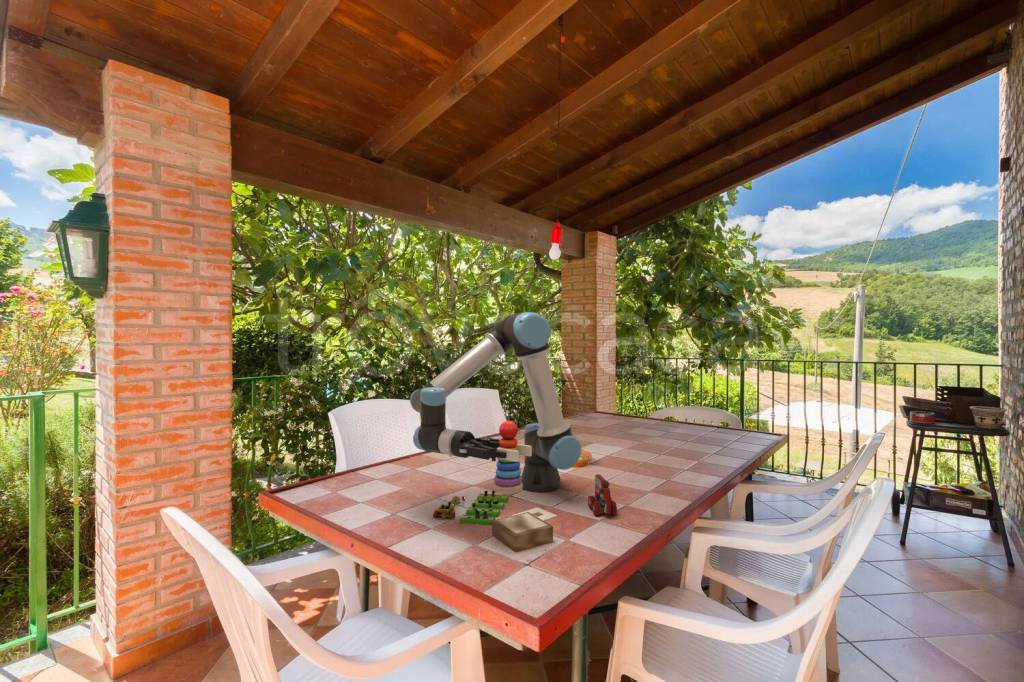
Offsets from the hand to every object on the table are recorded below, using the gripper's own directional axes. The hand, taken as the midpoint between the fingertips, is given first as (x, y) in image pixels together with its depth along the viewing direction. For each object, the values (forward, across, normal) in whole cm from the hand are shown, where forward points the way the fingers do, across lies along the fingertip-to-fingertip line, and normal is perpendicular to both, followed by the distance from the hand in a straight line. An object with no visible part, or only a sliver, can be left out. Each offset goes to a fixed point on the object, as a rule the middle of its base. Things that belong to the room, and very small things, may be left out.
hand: (524, 453), depth 123 cm
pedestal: (-2, -2, -24) cm, 24 cm away
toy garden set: (-27, -11, -25) cm, 39 cm away
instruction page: (-8, -17, -24) cm, 30 cm away
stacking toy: (-5, 0, -11) cm, 12 cm away
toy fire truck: (+8, -33, -24) cm, 42 cm away
